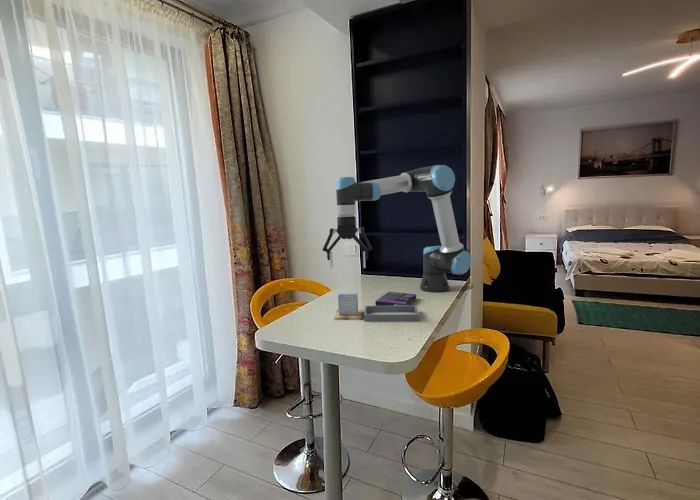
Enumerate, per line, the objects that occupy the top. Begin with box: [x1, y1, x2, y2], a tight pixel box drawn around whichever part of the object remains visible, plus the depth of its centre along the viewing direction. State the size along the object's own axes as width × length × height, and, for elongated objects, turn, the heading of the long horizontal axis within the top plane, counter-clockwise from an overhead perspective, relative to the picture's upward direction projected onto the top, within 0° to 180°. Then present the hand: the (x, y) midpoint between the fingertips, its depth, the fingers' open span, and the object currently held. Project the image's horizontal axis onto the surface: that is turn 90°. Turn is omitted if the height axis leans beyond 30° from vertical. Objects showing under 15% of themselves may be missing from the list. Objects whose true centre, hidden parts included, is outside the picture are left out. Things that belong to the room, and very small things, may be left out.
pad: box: [334, 309, 364, 321], centre depth 152 cm, size 11×11×1 cm
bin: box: [363, 305, 420, 322], centre depth 150 cm, size 22×13×2 cm, turn 86°
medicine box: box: [337, 291, 359, 315], centre depth 152 cm, size 8×4×9 cm, turn 86°
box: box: [374, 291, 417, 306], centre depth 170 cm, size 14×4×20 cm
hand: (348, 267), depth 150 cm, fingers open, 13 cm apart
